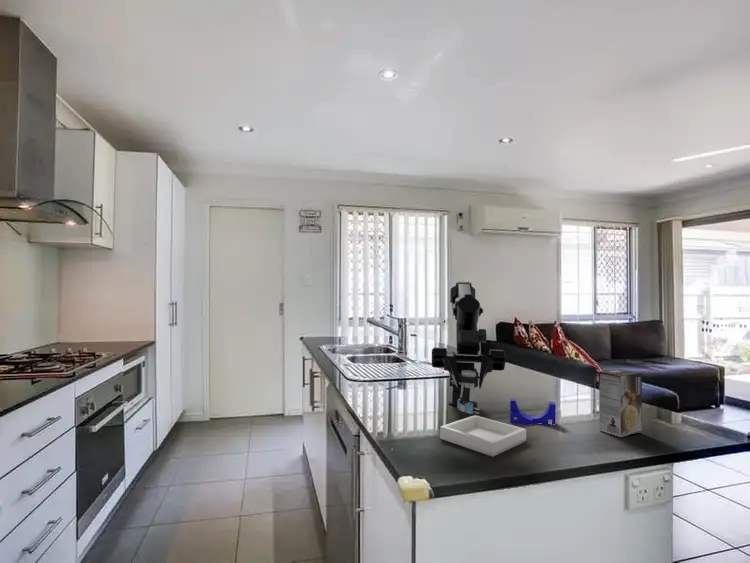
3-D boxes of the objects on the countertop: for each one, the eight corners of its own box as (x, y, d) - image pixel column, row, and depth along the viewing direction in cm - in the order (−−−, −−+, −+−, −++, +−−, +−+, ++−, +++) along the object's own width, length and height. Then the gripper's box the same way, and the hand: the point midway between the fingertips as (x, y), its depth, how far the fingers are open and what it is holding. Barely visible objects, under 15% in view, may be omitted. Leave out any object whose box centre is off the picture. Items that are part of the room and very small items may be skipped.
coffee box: (619, 426, 119) (619, 368, 119) (642, 433, 113) (643, 372, 113) (597, 431, 115) (598, 371, 115) (621, 438, 109) (621, 375, 109)
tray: (474, 426, 117) (474, 415, 117) (526, 441, 106) (526, 429, 106) (440, 438, 107) (440, 426, 107) (492, 456, 96) (493, 443, 96)
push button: (485, 414, 106) (488, 374, 106) (471, 417, 103) (473, 375, 103) (465, 407, 111) (468, 368, 111) (451, 409, 108) (453, 370, 108)
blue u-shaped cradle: (510, 423, 121) (510, 401, 121) (510, 418, 125) (510, 397, 125) (555, 428, 117) (556, 406, 117) (554, 423, 122) (554, 401, 122)
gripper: (432, 316, 112) (430, 366, 101) (505, 318, 109) (512, 370, 99) (432, 342, 120) (430, 391, 109) (501, 345, 117) (506, 395, 106)
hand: (468, 387), depth 106 cm, fingers closed on push button, 5 cm apart
